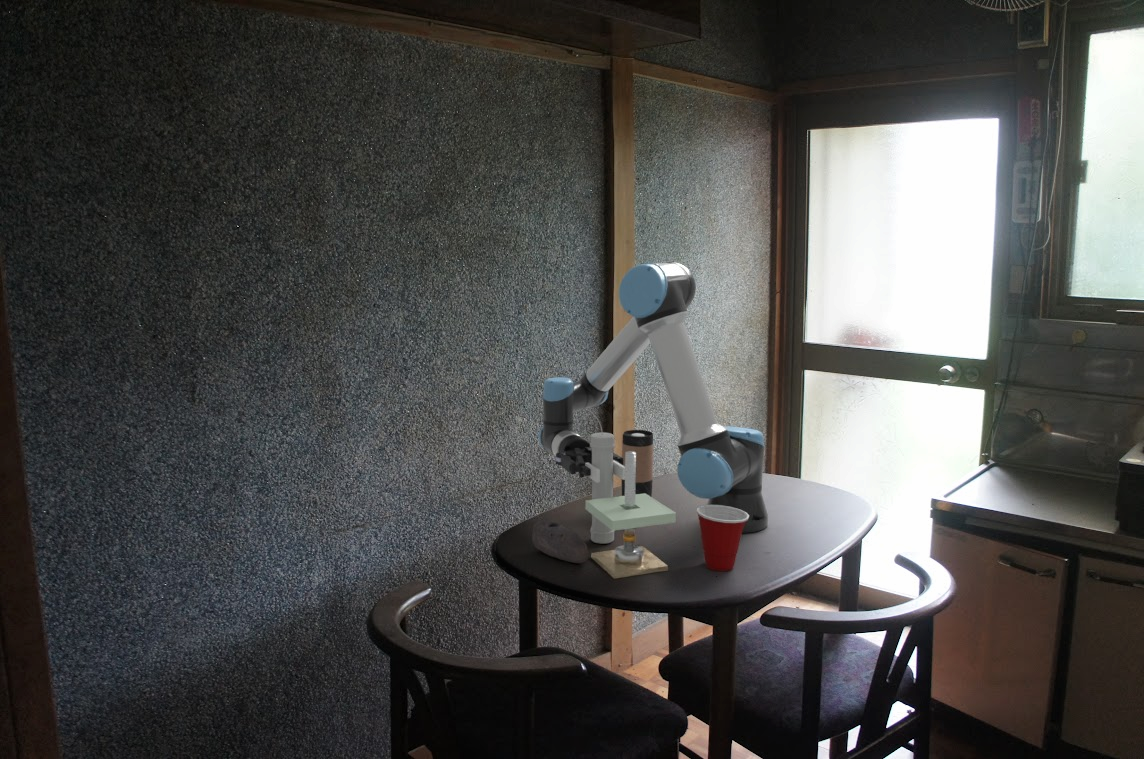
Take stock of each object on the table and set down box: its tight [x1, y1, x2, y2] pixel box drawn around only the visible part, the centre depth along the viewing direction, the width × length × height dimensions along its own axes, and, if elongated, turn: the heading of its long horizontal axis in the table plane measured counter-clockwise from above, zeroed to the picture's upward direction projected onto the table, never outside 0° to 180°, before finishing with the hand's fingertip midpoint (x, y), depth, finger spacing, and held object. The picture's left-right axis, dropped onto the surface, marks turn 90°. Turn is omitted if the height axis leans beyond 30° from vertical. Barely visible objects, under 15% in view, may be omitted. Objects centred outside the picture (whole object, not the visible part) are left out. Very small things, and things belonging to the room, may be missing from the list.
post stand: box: [590, 451, 669, 579], centre depth 177 cm, size 12×12×24 cm
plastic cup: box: [695, 504, 749, 572], centre depth 177 cm, size 11×11×12 cm
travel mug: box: [621, 429, 654, 498], centre depth 210 cm, size 8×8×20 cm
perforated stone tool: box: [531, 519, 590, 564], centre depth 181 cm, size 15×5×7 cm, turn 44°
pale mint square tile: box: [585, 493, 677, 531], centre depth 177 cm, size 14×14×2 cm
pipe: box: [586, 408, 616, 545], centre depth 189 cm, size 6×6×30 cm
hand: (611, 474), depth 184 cm, fingers closed on pipe, 5 cm apart
